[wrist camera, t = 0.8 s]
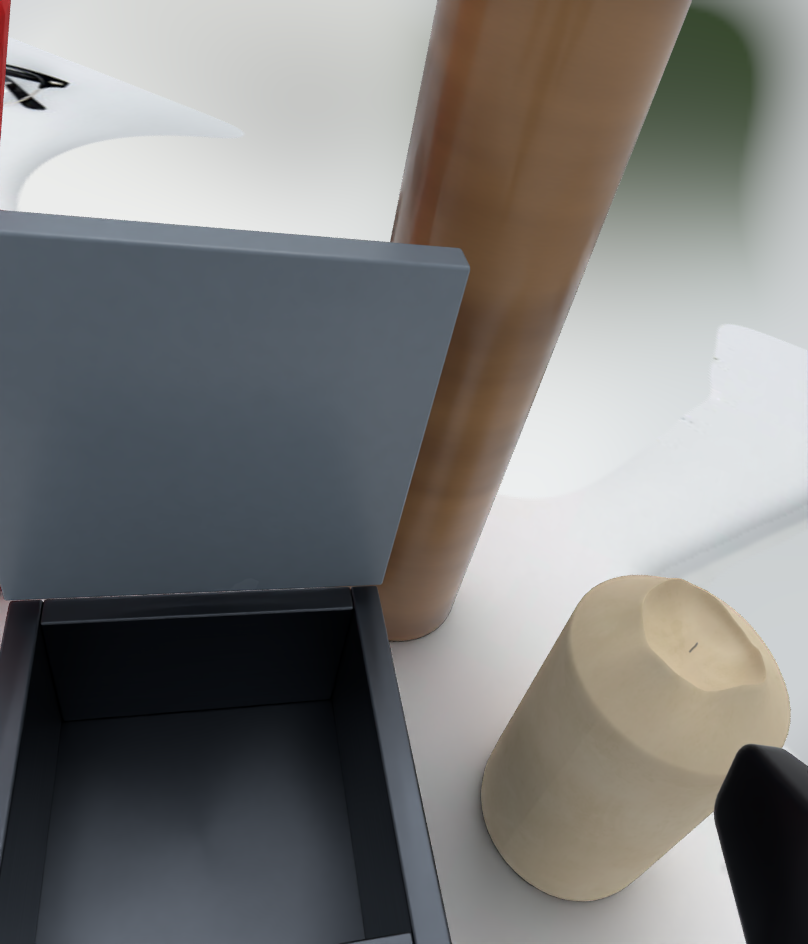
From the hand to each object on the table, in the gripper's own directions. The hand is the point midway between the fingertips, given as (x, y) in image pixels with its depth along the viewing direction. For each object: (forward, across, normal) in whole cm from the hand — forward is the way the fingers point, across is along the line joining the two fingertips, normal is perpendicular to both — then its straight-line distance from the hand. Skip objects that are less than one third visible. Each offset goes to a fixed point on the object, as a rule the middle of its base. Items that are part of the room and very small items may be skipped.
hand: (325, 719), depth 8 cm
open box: (+9, +2, +13) cm, 16 cm away
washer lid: (+9, +3, +1) cm, 10 cm away
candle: (+12, -9, +13) cm, 19 cm away
